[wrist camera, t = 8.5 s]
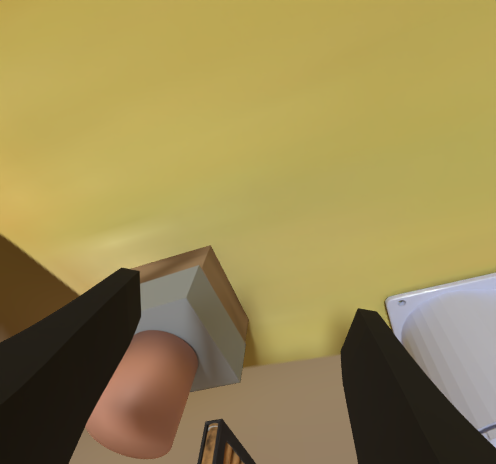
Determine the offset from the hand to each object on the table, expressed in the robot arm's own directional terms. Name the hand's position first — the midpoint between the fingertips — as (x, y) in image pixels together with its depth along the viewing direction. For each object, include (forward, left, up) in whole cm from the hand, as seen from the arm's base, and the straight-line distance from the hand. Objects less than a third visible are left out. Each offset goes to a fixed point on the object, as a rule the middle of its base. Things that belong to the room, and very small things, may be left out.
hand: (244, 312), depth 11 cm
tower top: (+8, +6, -8) cm, 13 cm away
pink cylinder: (+8, +6, -5) cm, 11 cm away
